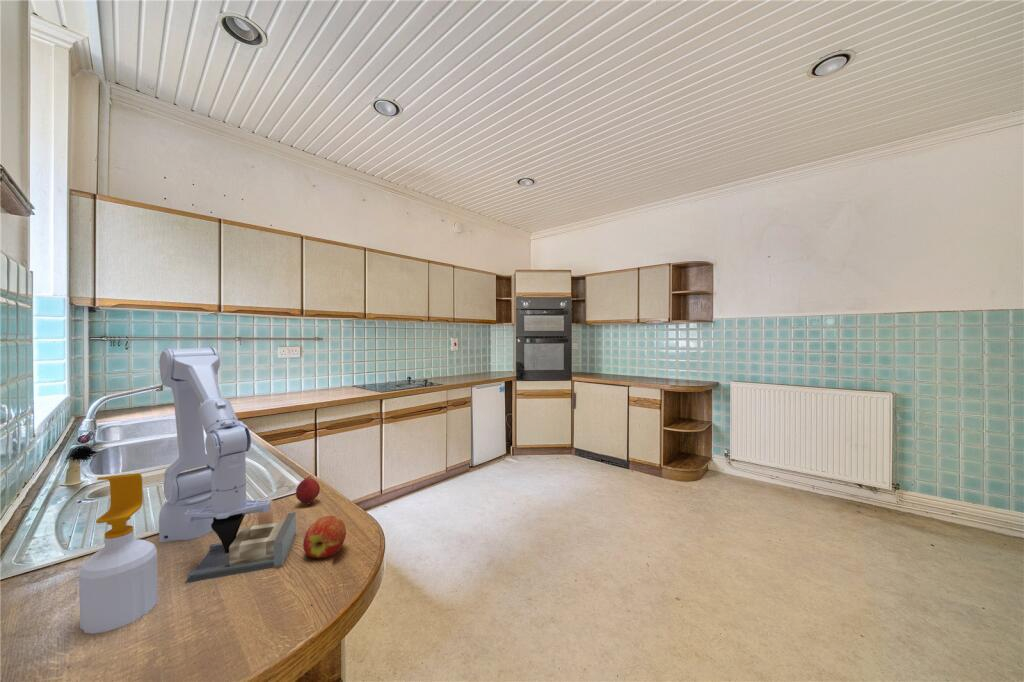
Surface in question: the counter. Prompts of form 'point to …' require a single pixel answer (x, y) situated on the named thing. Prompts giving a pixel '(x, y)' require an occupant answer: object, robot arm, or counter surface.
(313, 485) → the onion
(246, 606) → the counter surface
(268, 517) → the dowel
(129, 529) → the soap bottle
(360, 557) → the counter surface
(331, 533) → the apple
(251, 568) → the slide base
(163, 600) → the counter surface
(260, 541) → the sliding block
